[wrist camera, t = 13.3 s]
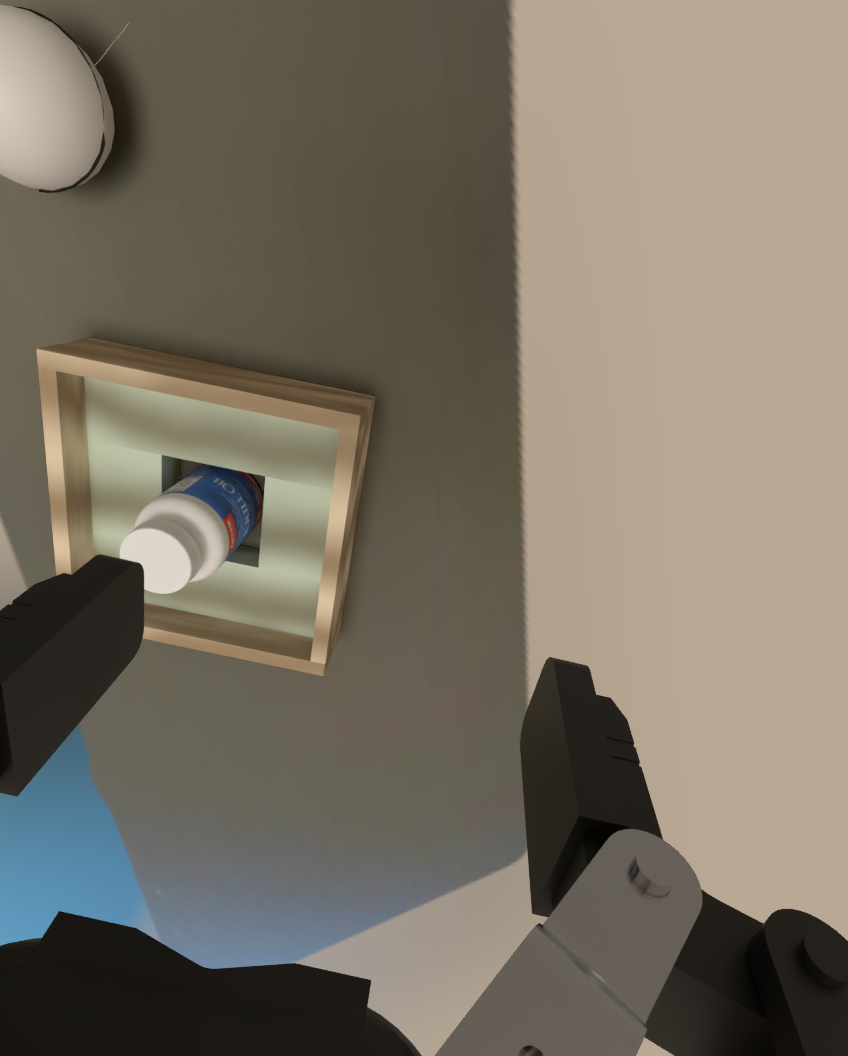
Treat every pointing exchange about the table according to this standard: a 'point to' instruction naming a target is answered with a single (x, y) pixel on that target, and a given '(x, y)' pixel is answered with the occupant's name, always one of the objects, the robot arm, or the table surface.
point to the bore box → (220, 440)
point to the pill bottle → (193, 527)
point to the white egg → (49, 105)
